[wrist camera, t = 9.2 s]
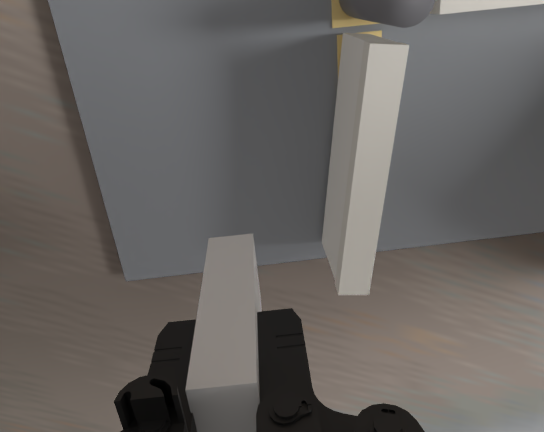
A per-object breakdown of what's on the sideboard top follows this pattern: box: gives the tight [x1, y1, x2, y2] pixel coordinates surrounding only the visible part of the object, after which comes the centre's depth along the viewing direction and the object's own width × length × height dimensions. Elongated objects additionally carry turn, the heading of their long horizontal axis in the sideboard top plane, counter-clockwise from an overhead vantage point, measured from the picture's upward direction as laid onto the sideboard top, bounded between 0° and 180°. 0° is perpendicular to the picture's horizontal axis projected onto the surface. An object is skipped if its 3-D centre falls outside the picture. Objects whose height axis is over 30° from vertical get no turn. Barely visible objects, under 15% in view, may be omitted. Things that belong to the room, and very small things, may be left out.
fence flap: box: [322, 33, 409, 295], centre depth 20 cm, size 10×1×5 cm, turn 178°
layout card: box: [48, 0, 544, 281], centre depth 21 cm, size 25×22×1 cm
